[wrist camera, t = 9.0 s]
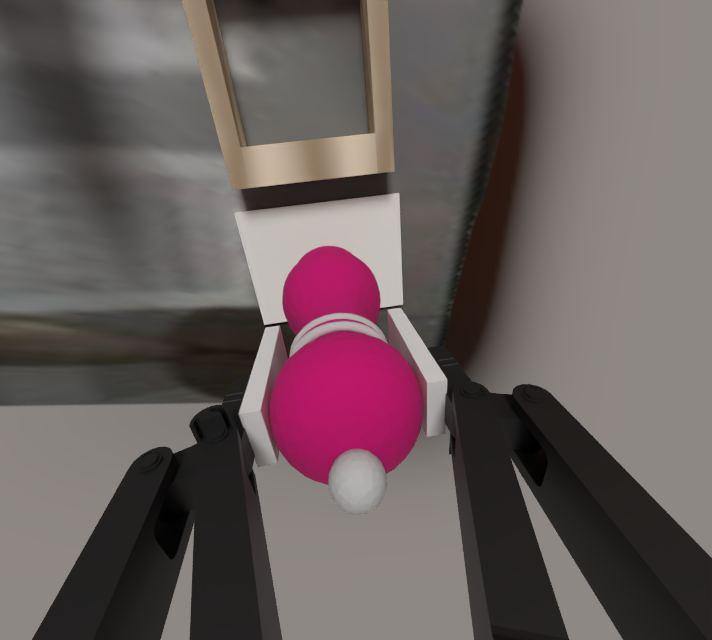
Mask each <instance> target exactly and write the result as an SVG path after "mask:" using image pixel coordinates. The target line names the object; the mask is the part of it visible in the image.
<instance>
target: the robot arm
mask: <svg viewBox="0 0 712 640" xmlns="http://www.w3.org/2000/svg"><path fill="white" fill-rule="evenodd" d="M387 312H388V329H389V345H391V346H392V347H394V348H395V349H397V350H398V351H399V353H400V354H401V355H402V356H403V357H404V359H405V360H406V361H407V362H408V364H409V365H410V366H411V368H412V370H413V372H414V373H415V375H416V378H417V381H418V384H419V387H420V390H421V395H422V403H423V418H422V427H423V429H424V431H425V434H426V436H427V437H428V436H434V435H439V434H444V433H445V423H446V425H447V427H448V429H449V431H450V447H449V454H452V462H453V470H454V478H455V486H456V495H457V503H458V511H459V519H460V527H461V535H462V543H463V552H464V559H465V567H466V575H467V584H468V592H469V600H470V609H471V617H472V625H473V632H474V640H569V638H568V635H567V632H566V628H565V625H564V622H563V619H562V616H561V613H560V610H559V607H558V604H557V601H556V598H555V594H554V591H553V588H552V585H551V582H550V579H549V576H548V573H547V570H546V566H545V563H544V560H543V557H542V554H541V551H540V548H539V545H538V542H537V539H536V535H535V532H534V529H533V526H532V523H531V520H530V517H529V514H528V511H527V508H526V505H525V501H524V498H523V495H522V492H521V489H520V486H519V483H518V480H517V477H516V473H515V471H514V467H513V464H512V461H511V459H512V460H513V462H514V463H515V465H516V467H517V468H518V470H519V472H520V473H521V475H522V477H523V478H524V480H525V481H526V483H527V485H528V486H529V488H530V489H531V491H532V492H533V494H534V496H535V498H536V499H537V501H538V502H539V504H540V506H541V507H542V509H543V510H544V512H545V514H546V515H547V517H548V519H549V520H550V522H551V523H552V525H553V527H554V528H555V530H556V532H557V533H558V535H559V536H560V538H561V540H562V541H563V543H564V545H565V546H566V548H567V549H568V551H569V552H570V554H571V556H572V558H573V559H574V561H575V562H576V564H577V565H578V567H579V569H580V570H581V572H582V574H583V575H584V577H585V578H586V580H587V582H588V583H589V585H590V587H591V588H592V590H593V592H594V593H595V595H596V596H597V598H598V600H599V601H600V603H601V604H602V606H603V607H604V609H605V611H606V613H607V614H608V616H609V617H610V619H611V621H612V622H613V624H614V626H615V627H616V629H617V630H618V632H619V634H620V635H621V637H622V638H623V640H712V558H711V557H710V556H709V555H708V554H707V553H706V552H705V551H704V550H703V549H702V548H701V547H700V546H699V545H698V544H697V543H696V542H695V541H694V540H693V539H692V538H691V536H689V534H688V533H687V532H685V530H684V529H683V528H682V527H681V526H680V525H679V524H677V522H676V521H675V520H674V519H673V518H672V517H671V516H670V515H669V514H668V513H667V512H666V511H665V510H664V509H663V508H662V507H661V506H660V505H659V504H658V503H657V502H656V501H655V500H654V499H653V498H652V497H651V496H650V495H649V494H648V493H647V491H646V490H645V489H644V488H643V487H641V485H640V484H639V483H638V482H637V481H636V480H635V479H634V478H633V477H632V476H631V475H630V474H629V473H628V472H627V471H626V470H625V469H624V468H623V467H622V466H621V465H620V464H619V463H618V462H617V461H616V460H615V459H614V458H613V457H612V456H611V455H610V454H609V453H608V452H607V451H606V450H605V449H604V448H603V447H602V445H601V444H599V443H598V441H596V439H595V438H594V437H593V436H592V435H591V434H590V433H589V432H588V431H587V430H586V429H585V428H584V427H583V426H582V425H581V424H580V423H579V422H578V421H577V420H576V419H575V418H574V417H573V416H572V415H571V414H570V413H569V412H568V411H567V410H566V409H565V408H564V407H563V406H562V405H561V404H560V403H559V402H558V401H557V400H556V399H555V398H554V397H553V395H552V394H551V393H549V392H548V391H546V390H545V389H543V388H541V387H539V386H534V385H530V384H522V385H519V386H516V387H515V388H514V389H513V393H512V395H510V394H496V393H490V392H489V391H488V390H487V389H486V388H485V387H484V386H483V385H481V384H478V383H476V382H472V381H471V380H470V378H469V377H468V376H467V375H466V373H465V372H464V371H463V369H462V368H461V367H460V366H459V364H458V363H457V362H456V360H455V359H454V358H453V356H452V355H451V354H450V352H449V351H448V350H446V349H444V348H443V347H441V346H436V347H430V348H427V347H426V346H425V344H424V343H423V341H422V340H421V338H420V337H419V335H418V334H417V332H416V331H415V329H414V328H413V326H412V325H411V323H410V321H409V320H408V318H407V317H406V315H405V314H404V312H403V311H402V309H401V308H396V309H389V310H387ZM287 360H288V357H287V353H286V349H285V345H284V341H283V337H282V333H281V329H280V326H274V327H267V328H266V329H265V332H264V335H263V338H262V341H261V344H260V347H259V351H258V354H257V357H256V360H255V363H254V366H253V369H252V373H251V376H250V377H244V378H238V379H236V380H235V381H234V382H233V383H232V384H231V385H230V386H229V388H228V391H227V393H226V396H225V398H224V401H223V403H222V405H215V406H210V407H208V408H206V409H204V410H202V411H201V412H199V413H198V414H196V415H195V416H194V418H193V419H192V420H191V422H190V425H189V426H190V428H191V430H192V433H193V435H194V437H195V439H196V441H197V444H195V445H193V446H191V447H189V448H186V449H184V450H182V451H179V452H177V453H174V454H173V452H172V450H171V449H170V448H168V447H158V448H155V449H152V450H149V451H148V452H146V453H144V454H142V455H141V456H140V457H139V458H137V459H136V460H135V461H134V462H133V464H132V465H131V466H130V468H129V469H128V471H127V472H126V474H125V476H124V478H123V480H122V481H121V483H120V485H119V487H118V488H117V490H116V492H115V494H114V496H113V498H112V499H111V501H110V503H109V504H108V506H107V508H106V510H105V511H104V513H103V515H102V517H101V519H100V520H99V522H98V524H97V526H96V527H95V529H94V531H93V533H92V534H91V536H90V538H89V540H88V542H87V544H86V545H85V547H84V549H83V550H82V552H81V554H80V556H79V557H78V559H77V561H76V563H75V565H74V566H73V568H72V570H71V572H70V574H69V575H68V577H67V579H66V581H65V582H64V584H63V586H62V588H61V590H60V591H59V593H58V595H57V597H56V599H55V600H54V602H53V604H52V605H51V607H50V609H49V611H48V612H47V614H46V616H45V618H44V620H43V621H42V623H41V625H40V627H39V628H38V630H37V632H36V634H35V635H34V637H33V639H32V640H160V639H161V636H162V632H163V628H164V625H165V621H166V618H167V615H168V611H169V608H170V604H171V601H172V597H173V594H174V590H175V587H176V583H177V580H178V576H179V573H180V569H181V565H182V562H183V559H184V555H185V551H186V548H187V545H188V541H189V537H190V534H191V531H192V527H193V524H194V548H193V573H192V597H191V623H190V640H282V635H281V629H280V623H279V617H278V612H277V605H276V599H275V593H274V587H273V580H272V575H271V568H270V562H269V556H268V550H267V544H266V538H265V532H264V526H263V520H262V514H261V508H260V502H259V496H258V490H257V485H256V478H255V474H254V472H253V469H252V467H253V462H254V458H255V460H256V463H257V466H258V467H260V466H265V465H271V464H277V463H278V456H279V448H278V446H277V444H276V442H275V440H274V437H273V434H272V430H271V423H270V398H271V393H272V389H273V386H274V383H275V380H276V377H277V375H278V373H279V371H280V370H281V368H282V367H283V365H284V364H285V362H286V361H287ZM510 457H511V458H510ZM194 520H195V521H194Z"/></svg>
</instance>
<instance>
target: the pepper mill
mask: <svg viewBox="0 0 712 640" xmlns="http://www.w3.org/2000/svg"><path fill="white" fill-rule="evenodd" d="M380 302H381V299H380V291H379V287H378V284H377V281H376V278H375V276H374V274H373V273H372V271H371V270H370V268H369V267H368V266H367V265H366V264H365V263H364V262H363V261H361V260H360V259H359V258H357V257H356V256H354V255H353V254H352V253H350V252H349V251H347V250H345V249H343V248H340V247H337V246H322V247H318V248H315V249H313V250H311V251H309V252H308V253H306V254H305V255H304V256H303V257H302V258H301V259H300V260H299V262H298V263H297V264H296V265H295V266H294V267H293V269H292V270H291V271H290V273H289V274H288V276H287V278H286V280H285V284H284V287H283V295H282V305H283V311H284V314H285V318H286V319H287V321H288V323H289V325H290V327H291V329H292V330H293V332H294V333H295V334H296V335H297V336H296V337H295V339H294V341H293V343H292V346H291V350H290V358H289V359H288V360H287V361H286V362H285V364H284V365H283V367H282V368H281V370H280V371H279V373H278V375H277V377H276V380H275V383H274V386H273V389H272V393H271V398H270V423H271V430H272V434H273V437H274V440H275V442H276V444H277V446H278V448H279V450H280V452H281V453H282V454H283V456H284V457H285V458H286V460H287V461H288V462H289V463H290V465H291V466H293V467H294V468H295V469H296V470H298V471H299V472H300V473H302V474H303V475H304V476H306V477H308V478H310V479H312V480H314V481H317V482H321V483H324V484H328V485H329V491H330V493H331V496H332V499H333V500H334V502H335V503H336V505H337V506H338V507H339V508H341V509H342V510H343V511H345V512H347V513H349V514H353V515H361V514H367V513H368V512H370V511H372V510H374V509H375V508H376V507H377V506H378V505H379V504H380V502H381V500H382V499H383V497H384V495H385V491H386V487H387V478H386V474H387V473H388V472H390V471H392V470H394V469H395V468H396V466H398V465H399V464H400V463H401V462H402V461H403V460H404V459H405V458H406V456H407V455H408V454H409V452H410V451H411V450H412V448H413V447H414V445H415V442H416V440H417V438H418V435H419V433H420V429H421V425H422V418H423V403H422V395H421V390H420V387H419V384H418V381H417V378H416V375H415V373H414V372H413V370H412V368H411V366H410V365H409V364H408V362H407V361H406V360H405V359H404V357H403V356H402V355H401V354H400V353H399V351H398V350H397V349H395V348H394V347H392V346H391V345H389V344H388V343H387V340H386V338H385V336H384V334H383V332H382V331H381V330H380V329H379V328H378V327H377V326H376V325H375V324H376V322H377V319H378V316H379V311H380Z"/></svg>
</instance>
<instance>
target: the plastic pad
mask: <svg viewBox="0 0 712 640" xmlns="http://www.w3.org/2000/svg"><path fill="white" fill-rule="evenodd" d="M234 214H235V218H236V222H237V225H238V229H239V233H240V236H241V240H242V244H243V247H244V251H245V255H246V259H247V262H248V266H249V270H250V273H251V277H252V281H253V284H254V288H255V292H256V296H257V299H258V303H259V307H260V310H261V314H262V318H263V321H264V325H266V324H273V323H280V322H287V319H286V318H285V314H284V311H283V305H282V295H283V287H284V284H285V280H286V278H287V276H288V274H289V273H290V271H291V270H292V269H293V267H294V266H295V265H296V264H297V263H298V262H299V260H300V259H301V258H302V257H303V256H304V255H305V254H306V253H308V252H309V251H311V250H313V249H315V248H318V247H322V246H337V247H340V248H343V249H345V250H347V251H349V252H350V253H352V254H353V255H354V256H356V257H357V258H359V259H360V260H361V261H363V262H364V263H365V264H366V265H367V266H368V267H369V268H370V270H371V271H372V273H373V274H374V276H375V278H376V281H377V284H378V287H379V291H380V299H381V302H380V308H383V307H390V306H397V305H403V290H402V261H401V231H400V202H399V193H393V194H385V195H377V196H368V197H360V198H352V199H343V200H335V201H327V202H318V203H310V204H302V205H293V206H285V207H277V208H268V209H260V210H252V211H244V212H235V213H234Z"/></svg>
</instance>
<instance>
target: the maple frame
mask: <svg viewBox="0 0 712 640" xmlns="http://www.w3.org/2000/svg"><path fill="white" fill-rule="evenodd" d="M182 2H183V5H184V9H185V13H186V17H187V21H188V24H189V28H190V32H191V36H192V39H193V43H194V47H195V51H196V55H197V58H198V62H199V66H200V70H201V74H202V77H203V81H204V85H205V89H206V92H207V96H208V100H209V104H210V108H211V111H212V115H213V119H214V123H215V126H216V130H217V134H218V138H219V142H220V145H221V149H222V153H223V157H224V160H225V164H226V168H227V172H228V176H229V179H230V183H231V187H232V190H237V189H246V188H254V187H263V186H272V185H281V184H289V183H298V182H307V181H315V180H324V179H333V178H341V177H350V176H359V175H367V174H376V173H385V172H394V147H393V121H392V96H391V70H390V45H389V19H388V0H360V13H361V27H362V42H363V56H364V70H365V84H366V99H367V113H368V127H369V134H362V135H353V136H343V137H334V138H324V139H315V140H305V141H296V142H287V143H277V144H268V145H258V146H249V147H247V144H246V139H245V135H244V131H243V126H242V122H241V118H240V113H239V109H238V104H237V100H236V96H235V91H234V87H233V83H232V78H231V74H230V70H229V65H228V61H227V57H226V52H225V48H224V44H223V39H222V35H221V31H220V26H219V22H218V18H217V13H216V9H215V5H214V0H182Z"/></svg>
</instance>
